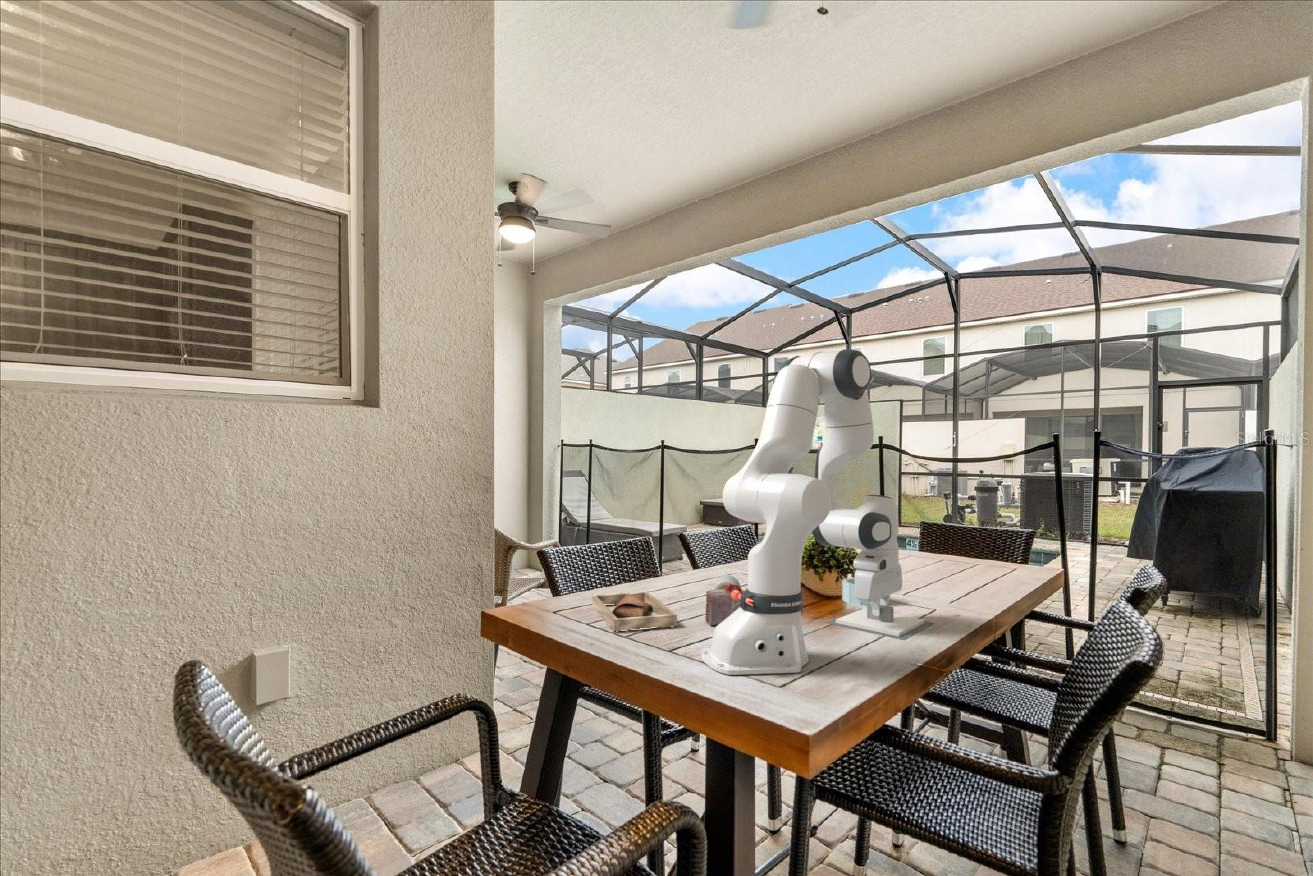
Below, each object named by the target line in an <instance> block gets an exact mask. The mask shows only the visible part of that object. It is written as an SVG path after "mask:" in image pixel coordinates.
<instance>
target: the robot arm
mask: <svg viewBox="0 0 1313 876" xmlns="http://www.w3.org/2000/svg"><path fill="white" fill-rule="evenodd" d="M871 378H872V369H871V364H870V362H869V359H868V358H867V357H866V355H865V354H863V352H862V351H860V350H857V349H850V348H849V349H847V348H846V349H842V350H829V351H816V352H812V353H807V354H803V355H796V356H793V357H791V358H789V359H787V360H786V361H785V362H783V363H782V365H781V367H780V369H779V371H778V373H777V374H776V377H775V379H774V381H773V385H772V387H771V389H770V393H769V396H768V400H767V404H766V409H765V413H764V417H763V422H762V426H761V431H760V433H759V437H758V441H757V443H756V445H755V448H754V450H753V451H752V453H751V455H750V456H749V458H748V459H747V461H746V462H745V464H744V465H743V466H742V467H741V469H739V471H738V472H737V473H735V474H734V475H732V476H731V477H729V478H728V480H727V481H726V483H725V485H724V487H723V490H722V503H723V506H724V508H725V510H726V512H727V513H728V514H729V515H731V516H733V517H735V518H738V519H740V520H743V521H746V522H748V523H749V522H750V523H758V524H766V531H765V534H764V537H763V539H762V540H761V542H759V543H757V544H755V545H754V546H753V547H752V548H751V549H750V551H749V552H748V556H747V588H746V589H745V590H746V591H745V592H744V593H743V594H742V593H741V592H739V591H737V590H734V591H732V593H731V597H732V598H733V599H734V600H736V601H740V607H739V608H738V609H737V610H736V611H734V612H733V613H732V614H731V615H730V616H729V617H727V618H726V619H725V620H724V621H722V622H721V623H720V624H719V625H717V626H715V628H714V630H713V634H712V637H711V638H712V639H711V645H710V647H705V648H702V650H701V652H700V658H701V660H702V661H703V662H704V663H705V664H706V665H707V666H708V667H710V669H712V670H714V671H717V672H718V673H721V674H725V675H728V676H733V675H734V676H737V675H739V676H740V675H743V676H744V675H764V674H792V673H800V672H801V671H802V670H803V669H802V668H803V666H806V665H807V663H809V656H808V652H807V648H806V643H805V638H804V631H803V621H802V619H803V618H802V616H803V612H804V600H803V599H804V597H803V594H804V593H803V591H802V590H801V587H802V586H801V583H802V582H801V577H802V576H801V575H802V561H803V560H802V559H803V552H804V549H805V546H806V543H807V541H808V539H809V537H810V536H811V534H812V536H813V537H814V540H815V541H816V542H817V543H818V544H819V545H820V546H823V547H840V548H846V549H856V550H860V553H858V555H857V556H856V558H854V559H853V563H852V565H853V569H856V570H855V572H854V578H855V595H856V598H857V600H859V601H864V602H870V604H871V606H872V614H873V615H875V616H879V615H881V614H882V612H881V611H882V608H880V605H884V606H889V603H890V601H891V595H892V594H895V593H898V592H901V590H902V588H903V573H902V566H901V563H900V562H899V554H900V553H899V552H900V551H899V549H900V547H899V544H898V534H899V514H898V513H899V512H898V507H897V503H896V500H895V499H894V498H893V497H890V496H887V495H880V494H879V495H878V494H867V495H865V496H864V497H863V502H862V504H861V505H860V506H859V507H857V508H854V509H853V508H852V509H851V508H843V507H841V508H840V507H839V506H838V505H837V502H836V500H837V481H838V479H837V478H838V474H839V471H840V470H841V469H842V468H843V467H845V466H846V465H849V464H850V463H853V462H855V461H857V460H859V459H861V458H863V457H864V456H865V455H866V454H867V453H868V452H869V451H870V449H871V448H872V446H873V445H874V439H875V438H874V437H875V433H874V432H875V431H874V423H873V414H872V409H871V404H870V400H869V395H868V392H867V389H868V386H869V385H870V382H871ZM819 400H822V401H823V403H824V405H823V406H824V408H823V409H824V410H823V411H824V414H823V415H824V428H825V437H824V440H823V444H822V446H821V447H820V448H819V449H818V450H817V454H816V457H815V466H814V477H813V476H809V475H806V474H801V473H789V471H790V470H791V468H792V467H793V466H794V465H795V464H796V463H797V462H798V461H800V460H802V459H803V458H805V457H806V456H807V455H808V454H809V453H810V450H811V448H812V444H813V440H814V439H813V437H814V433H815V429H816V422H817V417H818V411H819V403H820V402H819ZM880 598H881V600H880ZM879 602H880V604H879Z"/></svg>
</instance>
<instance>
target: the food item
mask: <svg viewBox="0 0 1313 876" xmlns="http://www.w3.org/2000/svg"><path fill="white" fill-rule="evenodd" d="M734 590H737V591H739V592H741V593H742V594H743V593H744V592H745V591H746V589H742V587H741V586H740V587H739V586H737V585H732V584H729V585H727V586H726V588H725V589H719V590H718V589H717V590H714V589H709V590H707V591H706V592H705V595H706V596H705V601H706V602H705V603H706V604H705V616H704V619H705V622H706V623H707V625H708V626H709V625H710V626H709V627H712V626H711V625H719V624H720V623H721V622H722V621H724V620H725V619H726V618H727V617H729V616H730V615H731V614H732V613H733V612H734V611H736V610H737V609H738V608H739V607H740V601H736V600H734V599H733V598H732V597H731V593H732V591H734Z"/></svg>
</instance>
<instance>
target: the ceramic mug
mask: <svg viewBox="0 0 1313 876" xmlns="http://www.w3.org/2000/svg"><path fill="white" fill-rule="evenodd" d="M729 584H732V585H737V586H739V587H741V583H740V582H739V580H738V579H737V578H736V577H735V576H732V575H730V574H724V575H721V576H719V577H718V578H717V579H716V580H715V582H714V588H713V590H717V589H718V590H719V589H725V588H726V586H727V585H729Z"/></svg>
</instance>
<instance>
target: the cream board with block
mask: <svg viewBox="0 0 1313 876" xmlns="http://www.w3.org/2000/svg"><path fill="white" fill-rule="evenodd" d="M880 608H882V611H881V612H882V614H881V615H879V616H875V615H873V614H872V606H871V604H870V603H869V604H867V606H866V608H865V607H864V608H860V609H861V610H858V609H857V610H858V611H856V612H853V611H852V612H853V613H851V614H848V613H847V614H848V615H846V616H843V615H842V616H843V617H841V618H838V617H837V618H838V619H836V623H839V624H844V625H849V626H853V627H858V628H862V629H867V630H872V631H876V632H881V633H886V634H890V635H895V636H901V635H903V634H905V633H906V632H908V631H910V630H912V629H914V628H916V627H918V626H920V625H922V624H924V623H925V621H926V620H925V619H922V618H917V617H912V616H907V615H902V614H895V611H894V606H889V605H888V606H884V605H880Z"/></svg>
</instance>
